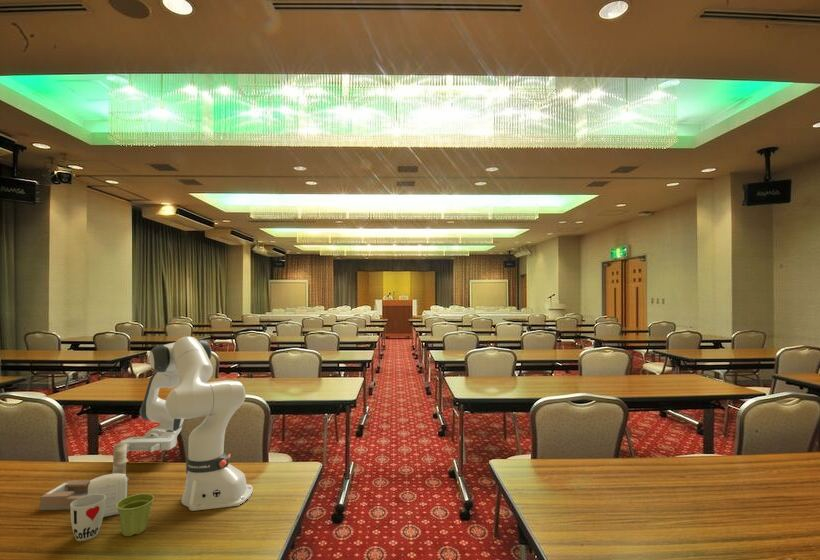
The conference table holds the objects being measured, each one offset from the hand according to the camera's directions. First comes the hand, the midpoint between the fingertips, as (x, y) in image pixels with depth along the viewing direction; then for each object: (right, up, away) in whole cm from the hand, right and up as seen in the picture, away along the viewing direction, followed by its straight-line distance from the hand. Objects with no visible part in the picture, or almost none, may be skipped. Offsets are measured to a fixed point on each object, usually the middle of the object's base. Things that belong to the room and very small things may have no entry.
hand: (137, 450), depth 166 cm
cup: (+15, -6, -45) cm, 48 cm away
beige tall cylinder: (+1, -7, -11) cm, 14 cm away
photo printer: (+12, -7, -34) cm, 36 cm away
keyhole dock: (-4, -7, -25) cm, 26 cm away
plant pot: (+27, -7, -43) cm, 51 cm away
